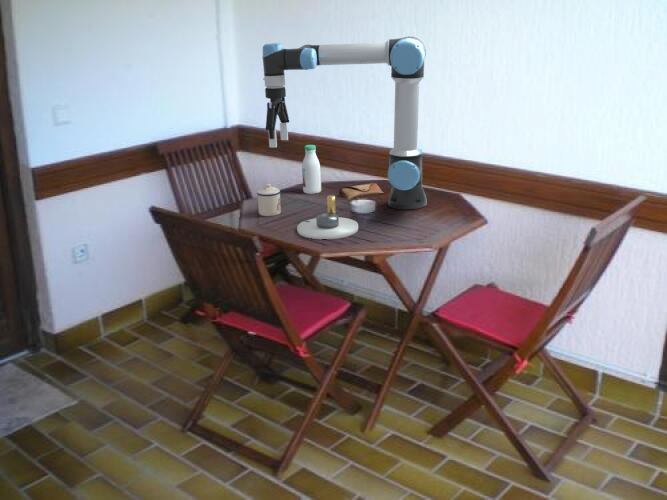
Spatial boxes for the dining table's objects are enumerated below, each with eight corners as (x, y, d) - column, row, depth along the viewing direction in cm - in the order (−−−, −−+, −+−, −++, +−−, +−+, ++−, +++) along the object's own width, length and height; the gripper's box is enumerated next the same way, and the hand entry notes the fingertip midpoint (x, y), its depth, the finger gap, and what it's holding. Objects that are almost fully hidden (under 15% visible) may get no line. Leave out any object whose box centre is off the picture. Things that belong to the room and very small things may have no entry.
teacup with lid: (283, 215, 301) (281, 186, 297) (259, 217, 299) (257, 188, 295) (279, 207, 312) (277, 178, 308) (256, 209, 310) (254, 180, 306)
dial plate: (362, 221, 290) (362, 216, 289) (353, 240, 269) (353, 235, 269) (304, 220, 294) (304, 216, 293) (291, 238, 273) (291, 234, 273)
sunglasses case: (348, 199, 318) (344, 184, 319) (342, 204, 324) (337, 189, 325) (386, 193, 326) (382, 178, 327) (379, 198, 332) (375, 183, 333)
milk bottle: (324, 190, 334) (322, 144, 328) (316, 194, 328) (314, 147, 321) (308, 189, 337) (306, 143, 331) (300, 193, 331) (297, 147, 324)
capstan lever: (336, 228, 276) (335, 206, 274) (314, 227, 278) (313, 206, 275) (343, 216, 290) (342, 195, 287) (322, 215, 291) (321, 195, 289)
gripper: (276, 82, 300) (279, 137, 307) (254, 91, 277) (258, 150, 284) (294, 82, 298) (298, 137, 305) (274, 91, 276) (278, 150, 282)
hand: (279, 143), depth 295 cm, fingers open, 13 cm apart
